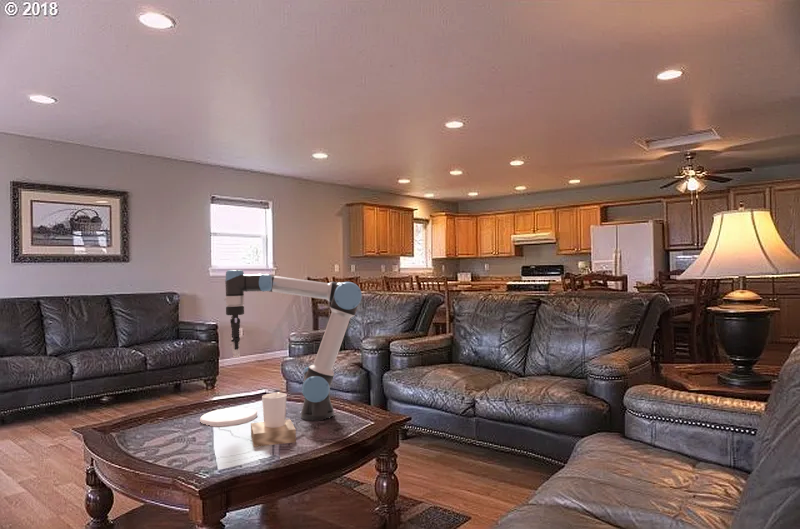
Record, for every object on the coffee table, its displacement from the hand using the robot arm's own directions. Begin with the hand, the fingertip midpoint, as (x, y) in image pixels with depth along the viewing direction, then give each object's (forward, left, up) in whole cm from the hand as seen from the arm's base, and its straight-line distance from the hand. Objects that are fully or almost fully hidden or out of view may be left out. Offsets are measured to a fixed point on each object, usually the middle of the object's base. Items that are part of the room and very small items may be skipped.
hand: (235, 355), depth 236 cm
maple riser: (-13, +21, -32) cm, 40 cm away
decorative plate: (+3, -19, -32) cm, 38 cm away
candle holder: (-14, +20, -27) cm, 36 cm away
